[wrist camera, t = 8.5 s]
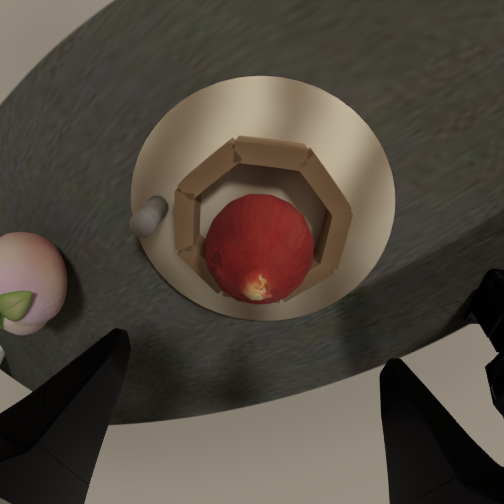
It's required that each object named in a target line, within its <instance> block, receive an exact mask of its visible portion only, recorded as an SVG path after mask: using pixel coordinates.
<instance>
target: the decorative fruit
mask: <svg viewBox="0 0 504 504" xmlns="http://www.w3.org/2000/svg"><path fill="white" fill-rule="evenodd" d="M66 292H67V271H66V266H65V263H64V260H63V258H62V256H61V254H60V252H59V251H58V249H57V248H56V247H55V246H54V245H53V244H52V243H51V242H50V241H49V240H47V239H46V238H44V237H41V236H39V235H36V234H33V233H27V232H13V233H8V234H5V235H3V236H1V237H0V329H2V328H3V329H5V330H7V331H8V332H11V333H13V334H17V335H28V334H32V333H34V332H36V331H38V330H40V329H41V328H42V327H43V326H44V325H45V324H46V322H47V321H48V320H50V319H51V318H53V317H54V316H55V315H56V314H57V313H58V312H59V311H60V309H61V308H62V305H63V303H64V300H65V297H66Z"/></svg>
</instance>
